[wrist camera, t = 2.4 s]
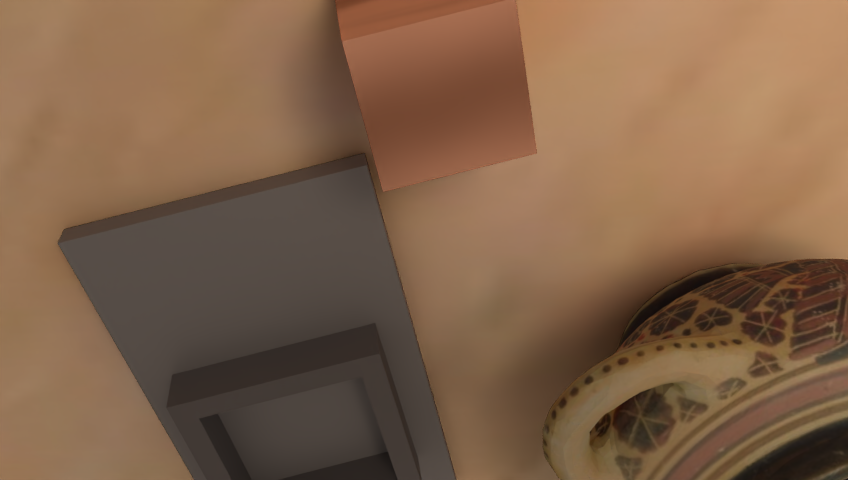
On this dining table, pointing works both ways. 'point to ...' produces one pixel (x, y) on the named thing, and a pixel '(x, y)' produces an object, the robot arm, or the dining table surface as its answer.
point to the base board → (269, 329)
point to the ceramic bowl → (718, 383)
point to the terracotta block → (438, 85)
